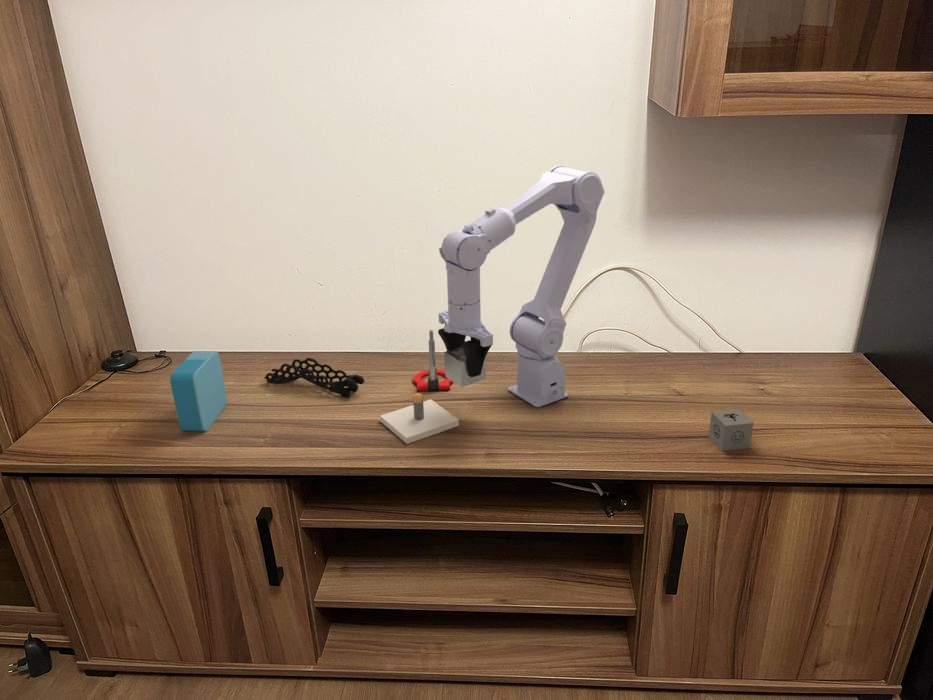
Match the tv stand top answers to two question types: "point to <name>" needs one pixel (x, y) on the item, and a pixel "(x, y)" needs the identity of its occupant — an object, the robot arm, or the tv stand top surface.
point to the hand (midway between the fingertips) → (465, 369)
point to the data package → (198, 390)
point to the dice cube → (730, 430)
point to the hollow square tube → (460, 368)
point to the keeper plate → (419, 420)
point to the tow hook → (432, 373)
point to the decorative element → (317, 377)
